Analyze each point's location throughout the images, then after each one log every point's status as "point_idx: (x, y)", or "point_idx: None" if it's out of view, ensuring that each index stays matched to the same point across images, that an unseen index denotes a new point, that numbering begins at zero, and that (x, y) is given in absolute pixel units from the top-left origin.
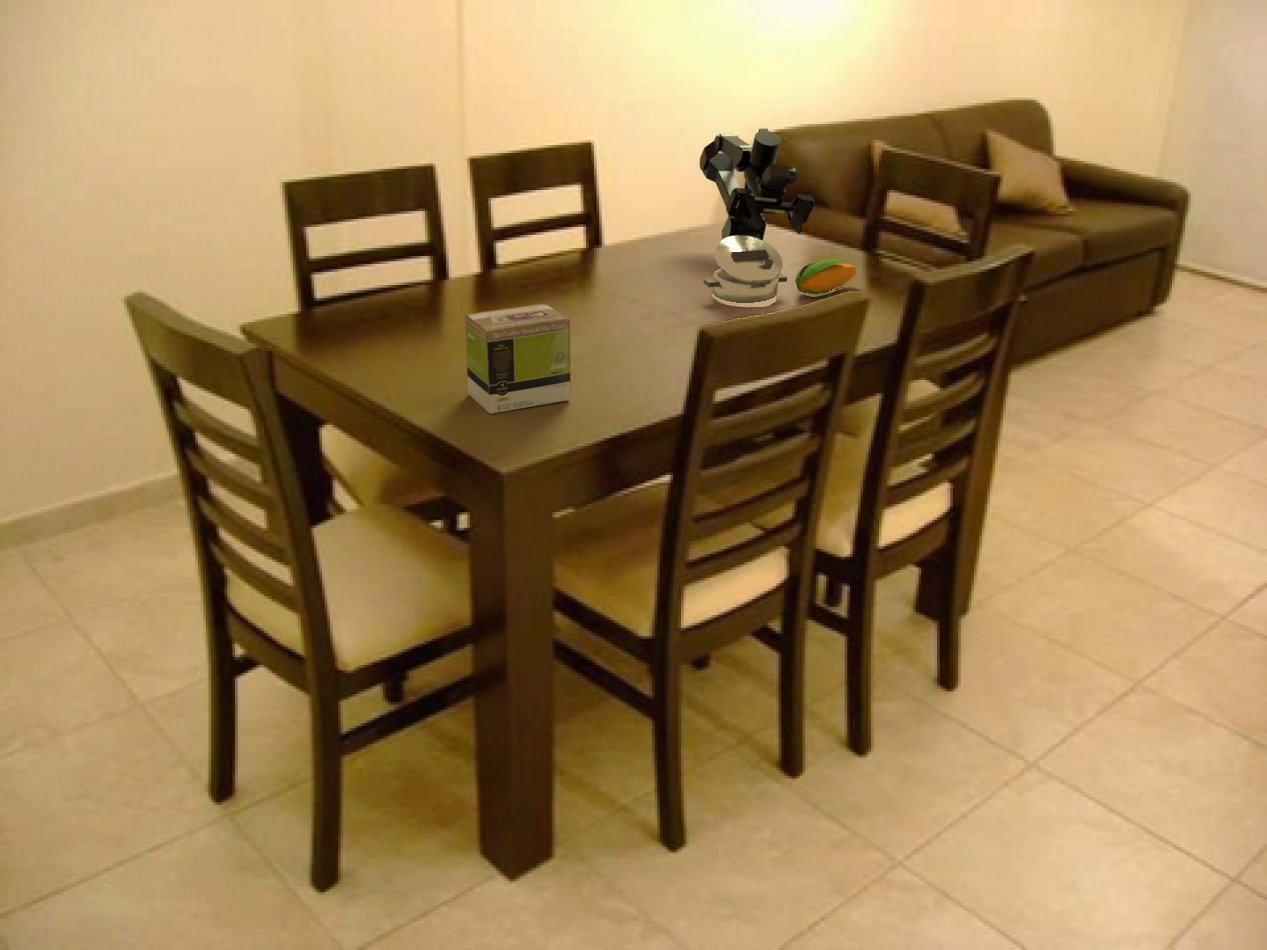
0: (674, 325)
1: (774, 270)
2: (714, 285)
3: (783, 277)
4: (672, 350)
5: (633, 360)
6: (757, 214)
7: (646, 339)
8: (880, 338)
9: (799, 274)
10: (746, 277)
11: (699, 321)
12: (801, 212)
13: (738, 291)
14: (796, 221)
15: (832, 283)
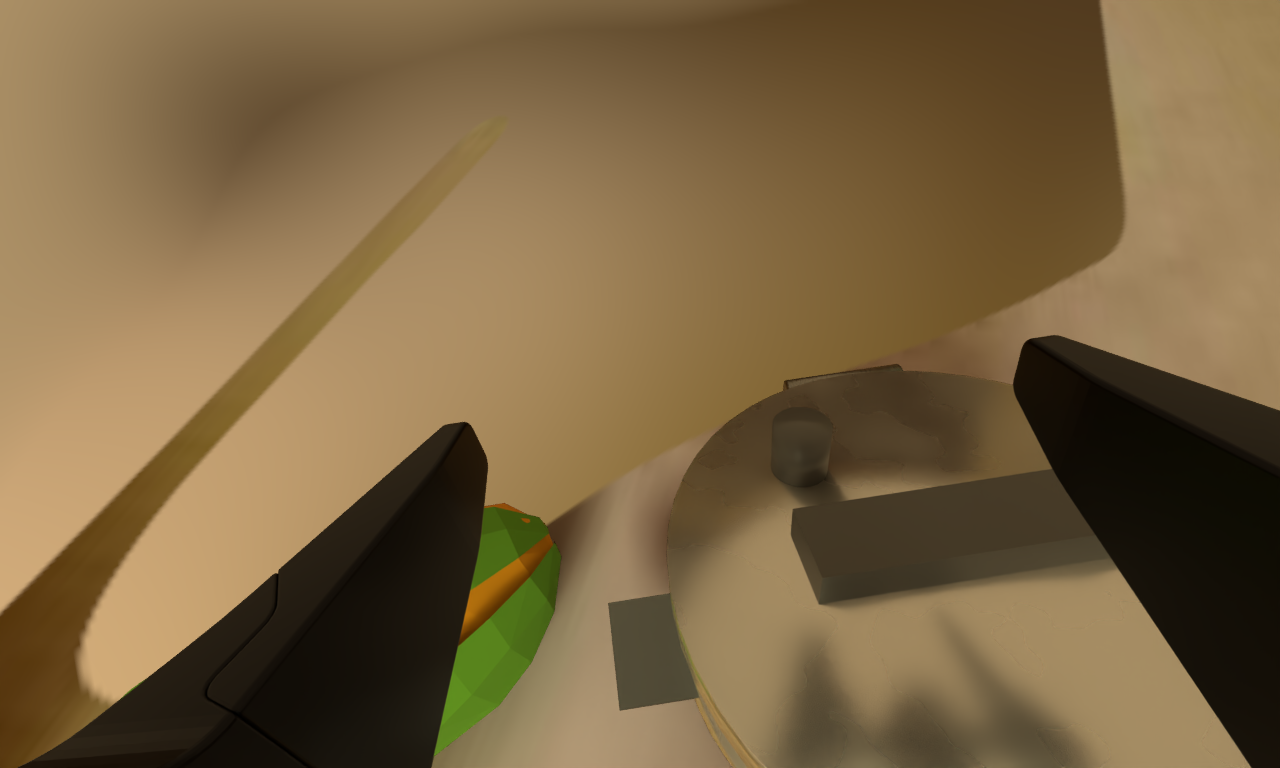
0: (1192, 273)
1: (750, 443)
2: None
3: (636, 600)
4: (1148, 93)
5: (1252, 44)
6: (1262, 448)
7: (1265, 163)
8: (464, 147)
9: (479, 714)
10: (947, 381)
11: (1091, 308)
12: (140, 721)
13: None
14: (391, 615)
15: None
